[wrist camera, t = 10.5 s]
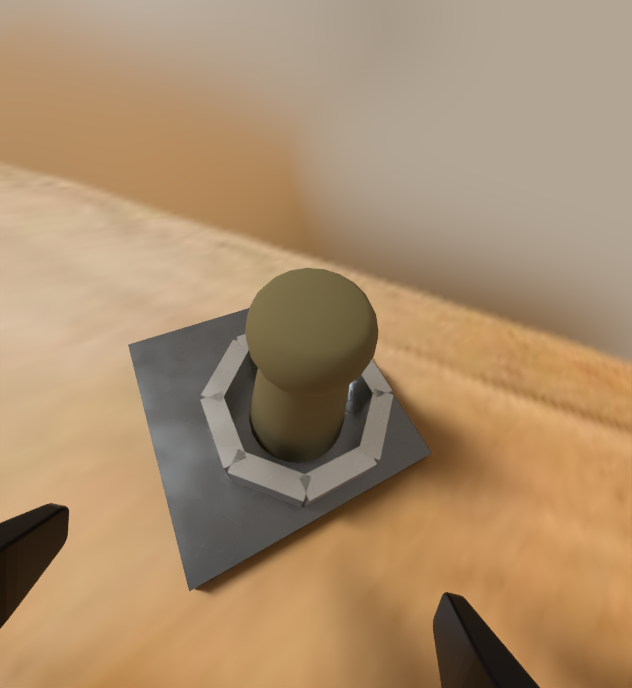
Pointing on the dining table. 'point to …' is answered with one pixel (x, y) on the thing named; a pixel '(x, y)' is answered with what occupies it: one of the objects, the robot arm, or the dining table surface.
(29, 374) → the dining table surface
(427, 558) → the dining table surface
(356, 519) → the dining table surface
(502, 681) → the robot arm
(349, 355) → the cork
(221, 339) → the socket block
